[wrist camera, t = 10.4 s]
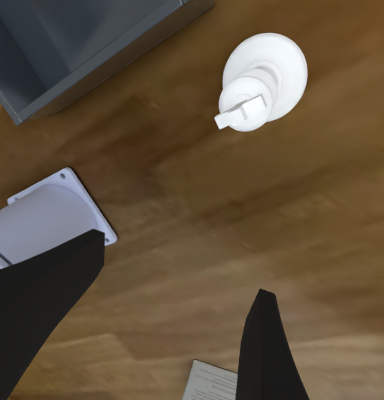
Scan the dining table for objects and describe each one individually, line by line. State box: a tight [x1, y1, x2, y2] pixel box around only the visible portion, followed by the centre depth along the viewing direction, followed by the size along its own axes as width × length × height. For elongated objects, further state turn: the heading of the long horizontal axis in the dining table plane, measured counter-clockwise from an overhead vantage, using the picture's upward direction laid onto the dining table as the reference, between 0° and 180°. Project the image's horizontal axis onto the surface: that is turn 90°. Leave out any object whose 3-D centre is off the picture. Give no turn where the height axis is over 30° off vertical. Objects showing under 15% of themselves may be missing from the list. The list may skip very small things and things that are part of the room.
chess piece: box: [214, 33, 307, 131], centre depth 13 cm, size 5×5×10 cm
